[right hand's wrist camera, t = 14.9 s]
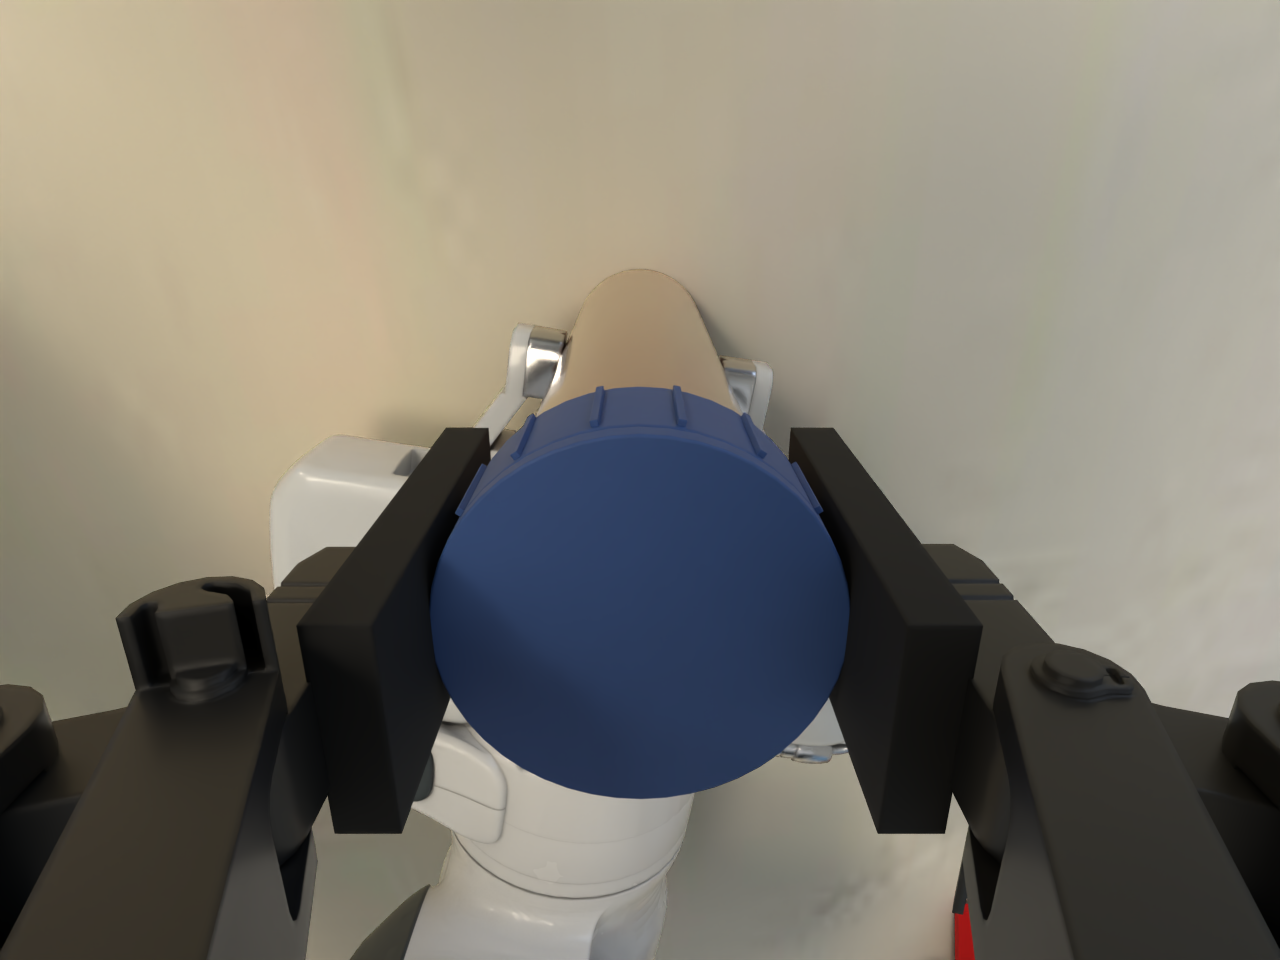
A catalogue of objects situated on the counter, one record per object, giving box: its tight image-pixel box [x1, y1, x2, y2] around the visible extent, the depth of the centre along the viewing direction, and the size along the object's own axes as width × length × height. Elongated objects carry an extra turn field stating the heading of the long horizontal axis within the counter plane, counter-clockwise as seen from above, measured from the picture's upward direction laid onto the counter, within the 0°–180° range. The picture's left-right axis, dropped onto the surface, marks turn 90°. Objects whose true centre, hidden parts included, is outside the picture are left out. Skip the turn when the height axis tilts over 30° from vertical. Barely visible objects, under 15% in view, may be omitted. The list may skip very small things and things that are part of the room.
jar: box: [535, 269, 743, 417], centre depth 20 cm, size 5×5×20 cm
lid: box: [429, 385, 850, 799], centre depth 11 cm, size 6×6×2 cm
